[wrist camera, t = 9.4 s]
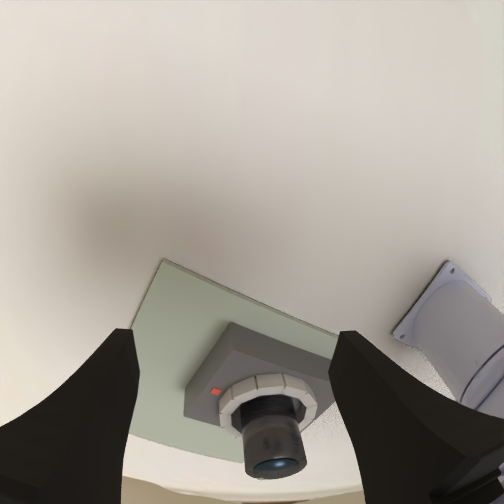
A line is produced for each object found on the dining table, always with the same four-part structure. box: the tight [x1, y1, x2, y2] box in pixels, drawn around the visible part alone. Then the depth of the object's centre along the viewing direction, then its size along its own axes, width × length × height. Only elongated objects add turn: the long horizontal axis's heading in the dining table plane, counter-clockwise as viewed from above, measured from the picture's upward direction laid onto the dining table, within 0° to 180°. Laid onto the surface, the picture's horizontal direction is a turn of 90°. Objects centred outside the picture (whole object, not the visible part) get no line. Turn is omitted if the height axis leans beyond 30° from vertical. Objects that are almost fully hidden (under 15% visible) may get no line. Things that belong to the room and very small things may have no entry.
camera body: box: [183, 322, 335, 440], centre depth 23 cm, size 10×8×4 cm
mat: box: [129, 259, 339, 463], centre depth 25 cm, size 17×20×1 cm
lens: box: [240, 394, 307, 480], centre depth 20 cm, size 4×4×6 cm
